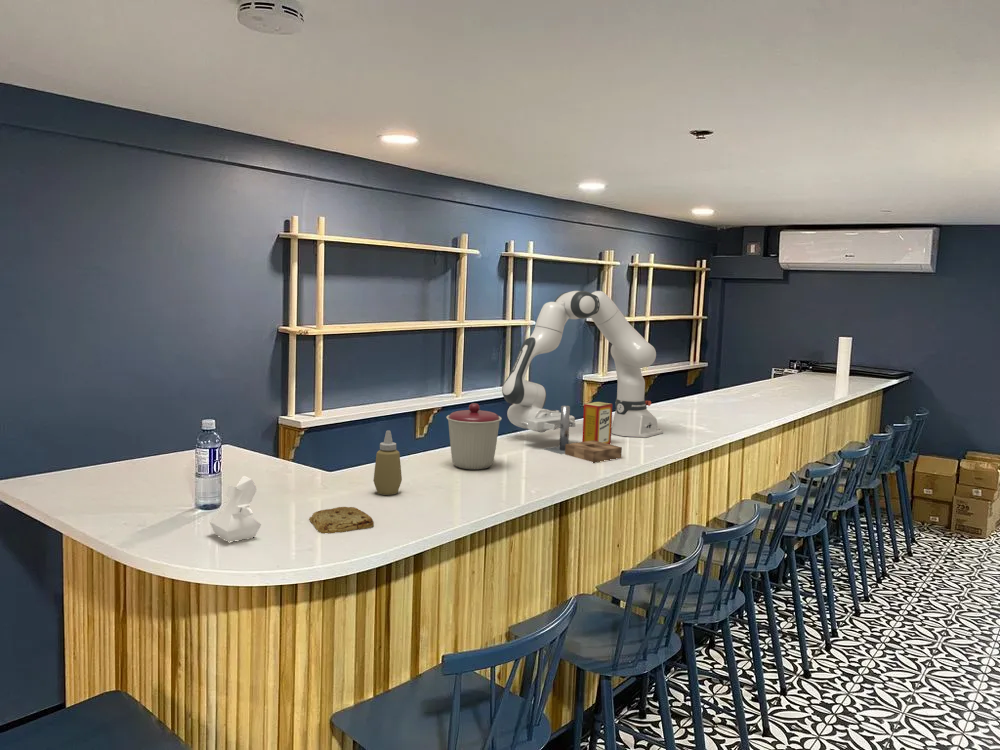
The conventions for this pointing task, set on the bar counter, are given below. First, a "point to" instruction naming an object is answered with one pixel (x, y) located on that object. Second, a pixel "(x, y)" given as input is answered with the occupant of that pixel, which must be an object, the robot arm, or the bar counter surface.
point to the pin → (564, 427)
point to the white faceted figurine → (237, 513)
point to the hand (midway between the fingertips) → (565, 426)
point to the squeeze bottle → (387, 467)
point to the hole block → (593, 451)
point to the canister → (473, 437)
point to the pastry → (340, 520)
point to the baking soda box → (597, 422)
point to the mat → (555, 450)
